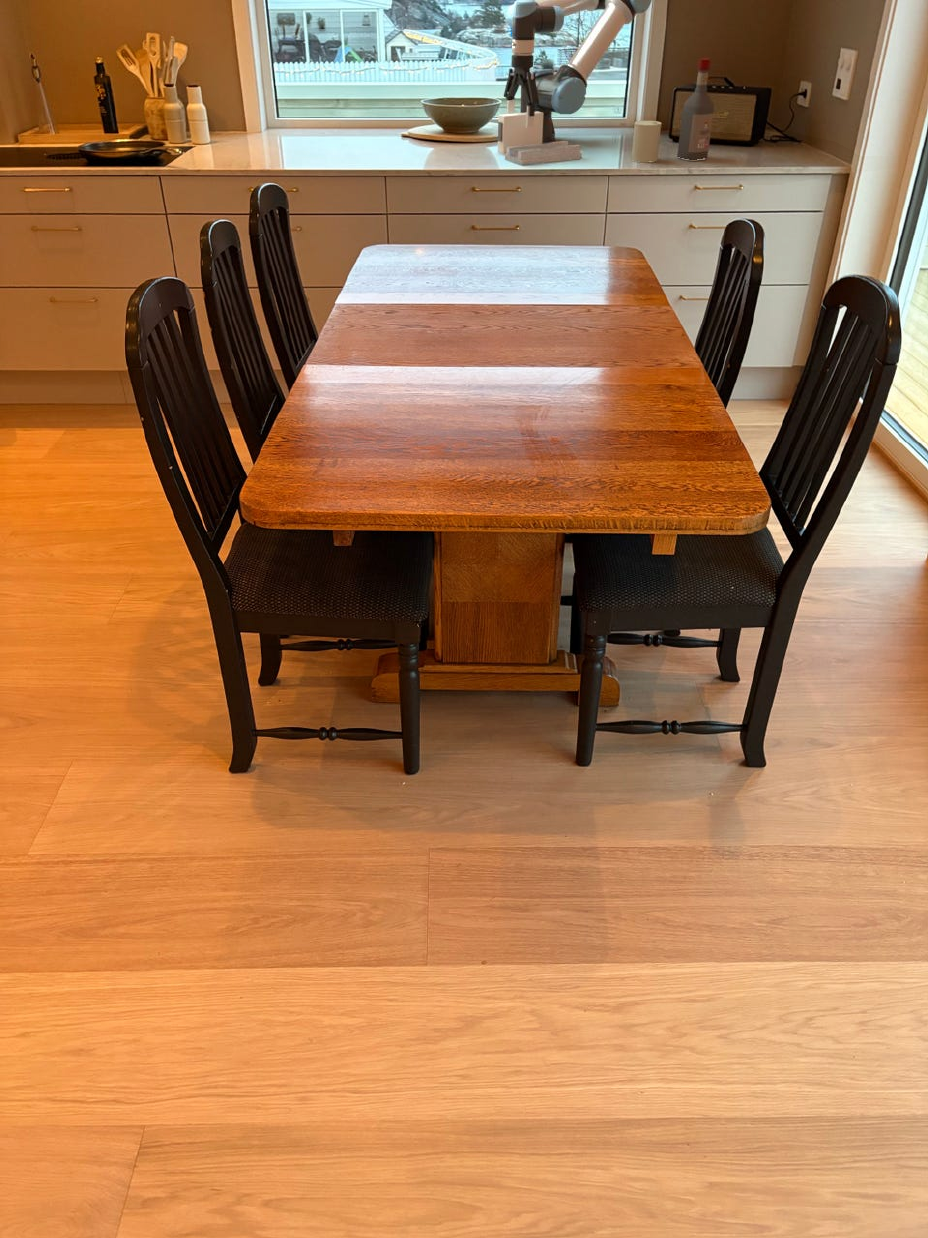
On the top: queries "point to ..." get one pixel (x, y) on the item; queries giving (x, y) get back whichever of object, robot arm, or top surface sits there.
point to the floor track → (542, 152)
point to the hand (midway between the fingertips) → (520, 123)
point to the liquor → (697, 118)
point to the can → (646, 141)
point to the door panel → (518, 130)
